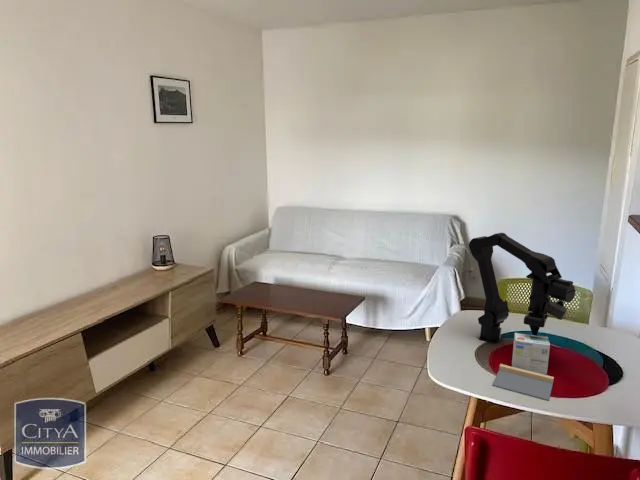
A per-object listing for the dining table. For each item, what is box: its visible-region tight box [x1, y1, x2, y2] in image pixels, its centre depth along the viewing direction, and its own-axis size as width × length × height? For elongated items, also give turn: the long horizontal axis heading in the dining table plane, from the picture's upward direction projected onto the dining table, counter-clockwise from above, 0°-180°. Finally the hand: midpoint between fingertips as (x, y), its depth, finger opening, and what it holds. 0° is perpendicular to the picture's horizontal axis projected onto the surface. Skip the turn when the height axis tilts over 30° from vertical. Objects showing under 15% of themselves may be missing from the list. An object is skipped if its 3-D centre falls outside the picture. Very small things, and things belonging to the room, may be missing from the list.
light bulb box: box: [511, 332, 551, 375], centre depth 156 cm, size 11×7×11 cm, turn 71°
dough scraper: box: [491, 363, 555, 401], centre depth 147 cm, size 16×12×2 cm
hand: (534, 335), depth 163 cm, fingers closed
